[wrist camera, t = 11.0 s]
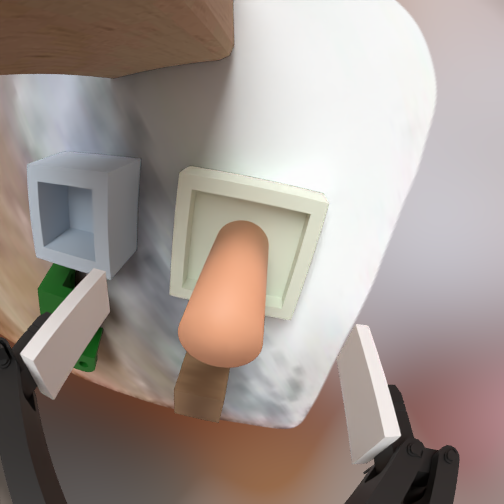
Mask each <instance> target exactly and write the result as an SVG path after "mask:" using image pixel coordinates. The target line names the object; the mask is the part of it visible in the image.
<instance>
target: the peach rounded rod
mask: <svg viewBox="0 0 504 504" xmlns="http://www.w3.org/2000/svg"><path fill="white" fill-rule="evenodd" d="M268 250H269V243H268V238H267V236H266V234H265V232H264V231H263V230H262V229H261V228H260V227H259V226H258V225H256V224H254V223H252V222H249V221H244V220H238V221H233V222H230V223H228V224H226V225H225V226H223V227H222V228H221V230H220V231H219V233H218V234H217V237H216V239H215V241H214V243H213V246H212V248H211V250H210V253H209V255H208V257H207V259H206V262H205V264H204V266H203V269H202V271H201V273H200V276H199V278H198V281H197V283H196V285H195V288H194V290H193V292H192V295H191V297H190V300H189V302H188V304H187V307H186V309H185V312H184V314H183V317H182V319H181V322H180V324H179V327H178V336H179V340H180V342H181V344H182V346H183V347H184V349H185V350H186V351H187V352H188V353H189V354H190V355H191V356H193V357H194V358H196V359H197V360H199V361H201V362H203V363H206V364H208V365H212V366H216V367H223V368H232V367H239V366H242V365H245V364H248V363H250V362H251V361H253V360H254V359H255V358H256V357H257V356H258V355H259V353H260V352H261V349H262V346H263V333H264V318H265V302H266V285H267V268H268Z"/></svg>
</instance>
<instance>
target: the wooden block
mask: <svg viewBox="0 0 504 504" xmlns="http://www.w3.org/2000/svg"><path fill="white" fill-rule="evenodd" d="M233 47H234V27H233V0H0V75H8V74H67V75H83V76H95V77H104V78H113V79H114V78H118V77H122V76H126V75H130V74H134V73H139V72H143V71H148V70H153V69H158V68H164V67H169V66H175V65H182V64H189V63H197V62H205V61H215V60H221V59H223V58H225V57H227V56H230V54H231V51H232V49H233Z"/></svg>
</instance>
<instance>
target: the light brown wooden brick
mask: <svg viewBox="0 0 504 504" xmlns="http://www.w3.org/2000/svg"><path fill="white" fill-rule="evenodd" d="M229 370H230V368H223V367H216V366H212V365H208V364H206V363H203V362H201V361H199V360H197V359H196V358H194V357H193V356H191V355H190V354H189V353H188V352H186V355H185V358H184V361H183V364H182V367H181V370H180V373H179V376H178V379H177V382H176V385H175V388H174V412H175V413H177V414H181V415H185V416H189V417H193V418H198V419H203V420H207V421H212V422H217V423H219V420H220V416H221V412H222V408H223V403H224V399H225V393H226V387H227V382H228V376H229Z"/></svg>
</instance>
